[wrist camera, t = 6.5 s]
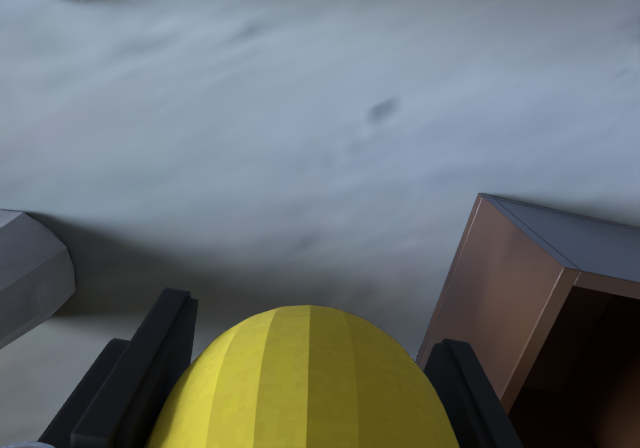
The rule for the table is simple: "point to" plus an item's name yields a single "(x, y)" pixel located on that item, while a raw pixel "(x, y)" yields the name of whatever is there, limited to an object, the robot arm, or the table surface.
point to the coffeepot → (30, 274)
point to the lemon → (303, 388)
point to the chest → (549, 321)
